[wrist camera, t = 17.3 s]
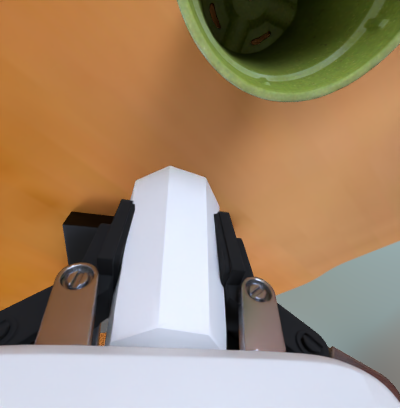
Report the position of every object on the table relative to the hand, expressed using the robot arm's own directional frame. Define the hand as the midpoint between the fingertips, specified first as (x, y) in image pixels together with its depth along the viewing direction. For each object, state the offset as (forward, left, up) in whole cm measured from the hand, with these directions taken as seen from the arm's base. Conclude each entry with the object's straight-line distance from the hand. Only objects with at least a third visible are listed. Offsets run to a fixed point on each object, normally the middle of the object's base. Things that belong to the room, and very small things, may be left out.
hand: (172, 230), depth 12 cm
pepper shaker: (0, 0, -2) cm, 2 cm away
